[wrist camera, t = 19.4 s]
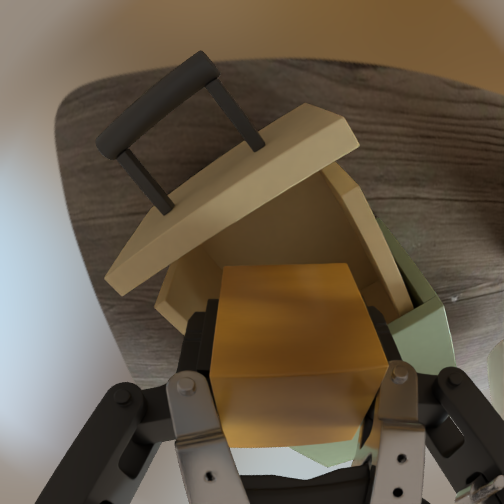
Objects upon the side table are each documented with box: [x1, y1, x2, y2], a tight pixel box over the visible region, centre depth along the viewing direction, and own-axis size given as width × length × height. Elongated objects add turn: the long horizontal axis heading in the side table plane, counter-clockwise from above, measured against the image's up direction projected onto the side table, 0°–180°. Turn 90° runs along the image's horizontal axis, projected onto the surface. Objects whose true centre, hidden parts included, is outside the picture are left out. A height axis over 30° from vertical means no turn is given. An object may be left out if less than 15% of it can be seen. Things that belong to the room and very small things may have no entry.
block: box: [209, 263, 389, 448], centre depth 10 cm, size 5×5×5 cm
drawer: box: [96, 51, 414, 336], centre depth 16 cm, size 18×11×8 cm, turn 34°
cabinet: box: [289, 218, 456, 467], centre depth 21 cm, size 15×13×10 cm
